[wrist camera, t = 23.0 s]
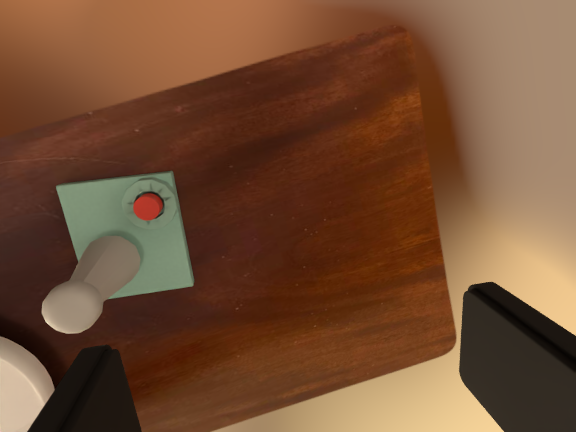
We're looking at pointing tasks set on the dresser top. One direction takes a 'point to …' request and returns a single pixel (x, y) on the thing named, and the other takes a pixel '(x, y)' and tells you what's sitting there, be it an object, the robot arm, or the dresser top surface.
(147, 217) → the button
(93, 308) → the salt shaker
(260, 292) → the dresser top surface
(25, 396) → the bowl
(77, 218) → the green flat block
